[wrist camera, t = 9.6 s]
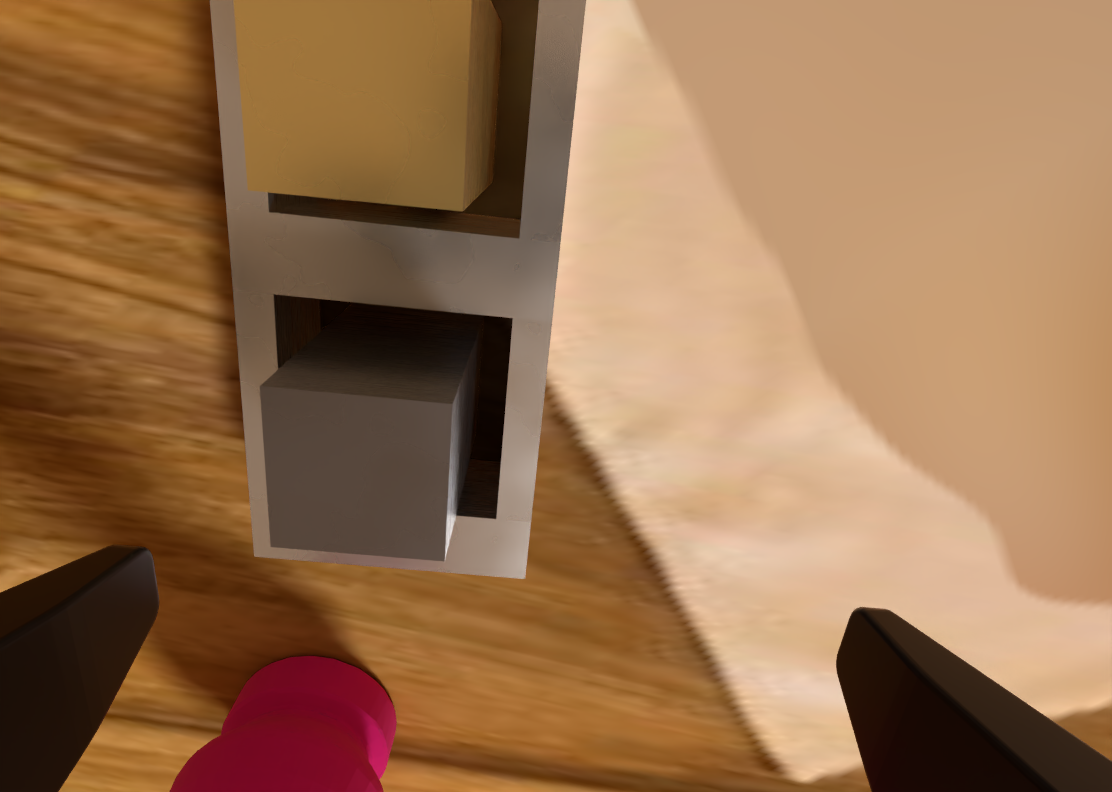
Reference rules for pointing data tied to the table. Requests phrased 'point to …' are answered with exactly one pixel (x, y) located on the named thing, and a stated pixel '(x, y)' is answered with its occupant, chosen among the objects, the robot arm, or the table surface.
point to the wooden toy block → (370, 98)
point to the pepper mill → (299, 733)
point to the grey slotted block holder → (395, 347)
